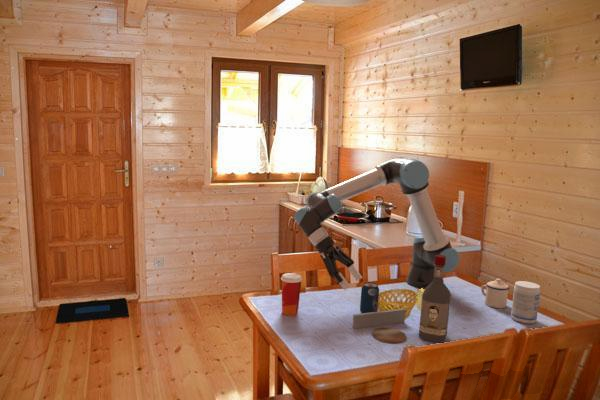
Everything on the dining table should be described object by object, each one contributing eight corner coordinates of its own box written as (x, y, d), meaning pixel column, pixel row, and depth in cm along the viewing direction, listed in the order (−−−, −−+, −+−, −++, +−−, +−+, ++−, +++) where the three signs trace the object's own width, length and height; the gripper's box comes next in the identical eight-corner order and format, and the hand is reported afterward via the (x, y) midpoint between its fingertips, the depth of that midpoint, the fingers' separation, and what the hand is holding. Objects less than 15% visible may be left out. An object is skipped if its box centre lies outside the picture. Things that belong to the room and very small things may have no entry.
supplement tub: (538, 326, 204) (543, 289, 202) (512, 322, 206) (516, 286, 204) (533, 317, 213) (538, 282, 211) (509, 313, 216) (513, 279, 213)
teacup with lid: (511, 306, 224) (514, 280, 223) (498, 310, 219) (501, 283, 217) (486, 298, 234) (489, 272, 232) (474, 301, 229) (477, 275, 227)
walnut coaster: (365, 331, 190) (366, 329, 190) (393, 327, 195) (394, 326, 195) (383, 345, 179) (384, 343, 179) (413, 340, 184) (413, 339, 184)
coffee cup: (288, 307, 209) (290, 271, 207) (304, 313, 204) (306, 276, 202) (274, 312, 203) (276, 275, 200) (290, 318, 198) (292, 280, 195)
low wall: (352, 327, 193) (353, 314, 192) (402, 321, 202) (403, 308, 201) (354, 328, 192) (355, 315, 191) (404, 322, 200) (405, 309, 200)
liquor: (421, 330, 194) (429, 251, 189) (447, 335, 190) (455, 254, 186) (417, 339, 185) (425, 257, 181) (444, 344, 182) (452, 261, 177)
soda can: (376, 317, 203) (379, 288, 201) (358, 315, 205) (361, 286, 203) (377, 311, 210) (380, 282, 208) (360, 309, 211) (362, 280, 209)
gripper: (327, 240, 225) (358, 280, 221) (301, 252, 203) (334, 297, 198) (340, 230, 222) (371, 271, 217) (315, 241, 199) (348, 286, 195)
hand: (353, 283), depth 208 cm, fingers open, 13 cm apart
